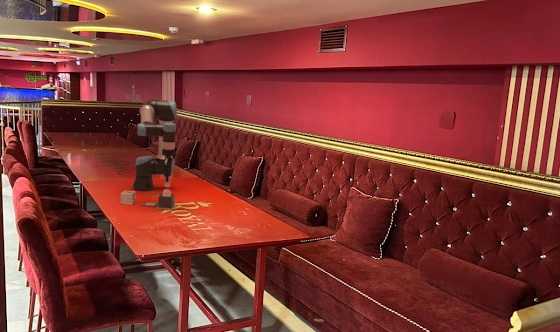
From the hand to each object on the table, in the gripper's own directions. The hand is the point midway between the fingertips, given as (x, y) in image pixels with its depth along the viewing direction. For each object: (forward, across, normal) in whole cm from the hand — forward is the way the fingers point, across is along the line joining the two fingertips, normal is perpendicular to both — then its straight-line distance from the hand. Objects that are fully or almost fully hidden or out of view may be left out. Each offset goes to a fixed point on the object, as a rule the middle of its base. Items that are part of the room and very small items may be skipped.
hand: (167, 186), depth 288 cm
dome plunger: (+11, 0, 0) cm, 11 cm away
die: (+13, -4, -25) cm, 29 cm away
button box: (+13, 0, 0) cm, 13 cm away
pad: (+13, -4, -11) cm, 18 cm away
